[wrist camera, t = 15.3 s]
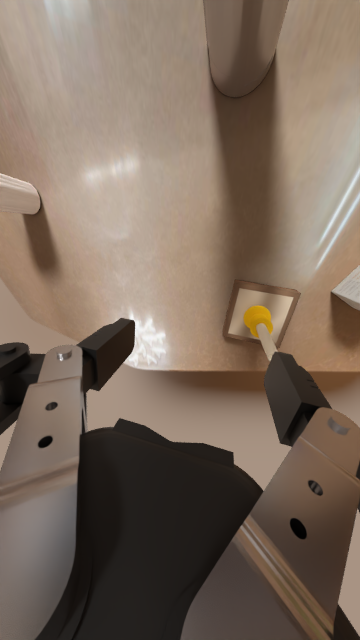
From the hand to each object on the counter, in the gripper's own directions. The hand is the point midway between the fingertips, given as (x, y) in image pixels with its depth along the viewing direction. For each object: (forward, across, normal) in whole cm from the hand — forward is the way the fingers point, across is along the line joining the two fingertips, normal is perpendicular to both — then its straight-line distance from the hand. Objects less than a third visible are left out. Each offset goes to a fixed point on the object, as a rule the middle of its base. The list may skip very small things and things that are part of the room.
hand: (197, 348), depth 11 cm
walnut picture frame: (+32, -10, +7) cm, 34 cm away
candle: (+29, -10, +7) cm, 32 cm away
